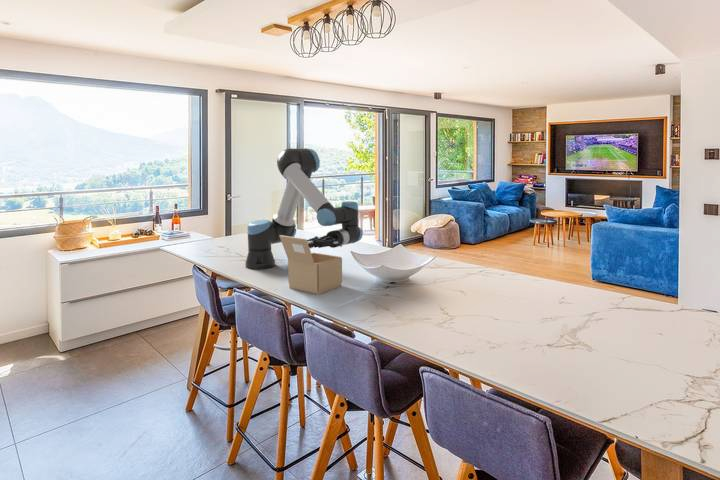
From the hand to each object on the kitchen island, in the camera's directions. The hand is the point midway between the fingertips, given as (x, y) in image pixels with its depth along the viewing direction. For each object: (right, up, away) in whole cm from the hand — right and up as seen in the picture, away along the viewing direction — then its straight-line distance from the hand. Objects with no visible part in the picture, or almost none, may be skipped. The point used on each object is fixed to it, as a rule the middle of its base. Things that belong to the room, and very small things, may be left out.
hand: (301, 246), depth 194 cm
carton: (+5, -18, +13) cm, 23 cm away
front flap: (0, -6, +4) cm, 7 cm away
